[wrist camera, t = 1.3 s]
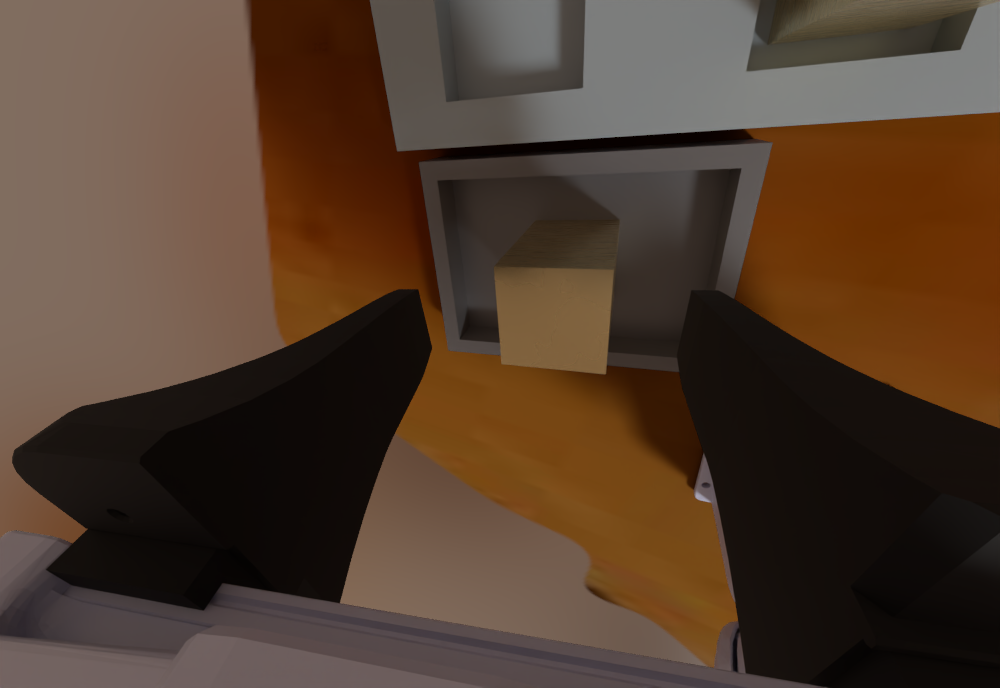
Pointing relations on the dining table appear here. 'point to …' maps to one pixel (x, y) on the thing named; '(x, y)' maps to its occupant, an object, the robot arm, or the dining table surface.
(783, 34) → the block
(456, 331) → the grey shallow rectangular tray
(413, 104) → the grey pocketed tray
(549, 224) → the block
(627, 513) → the dining table surface
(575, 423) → the dining table surface
